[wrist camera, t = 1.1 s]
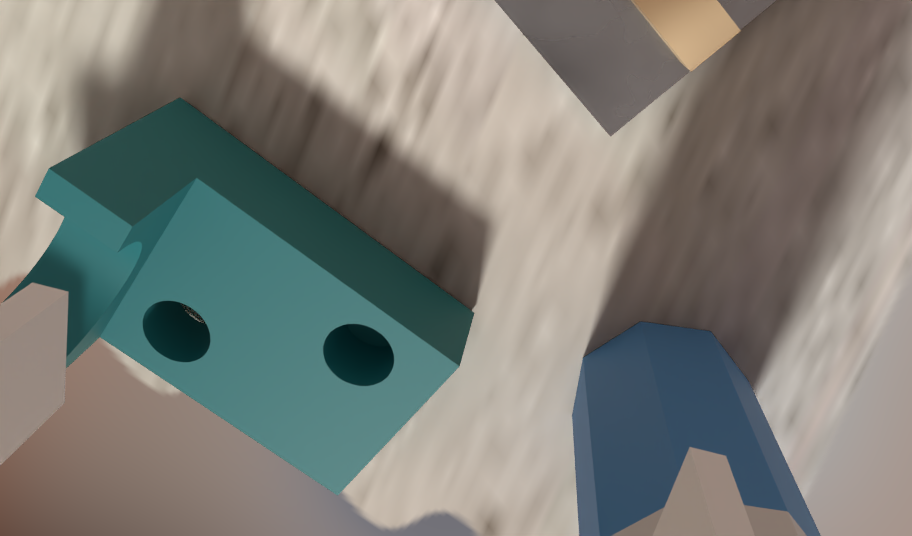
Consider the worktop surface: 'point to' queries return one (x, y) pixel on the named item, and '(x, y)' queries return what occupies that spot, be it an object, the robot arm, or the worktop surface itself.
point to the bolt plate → (609, 50)
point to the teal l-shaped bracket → (245, 292)
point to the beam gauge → (689, 27)
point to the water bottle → (672, 433)
